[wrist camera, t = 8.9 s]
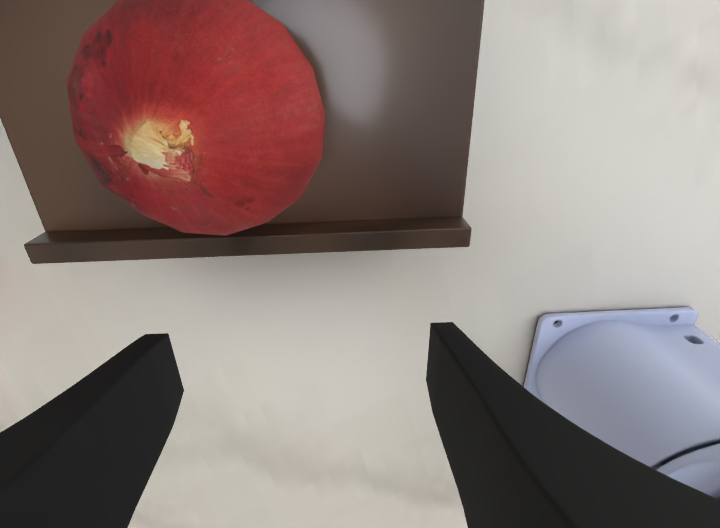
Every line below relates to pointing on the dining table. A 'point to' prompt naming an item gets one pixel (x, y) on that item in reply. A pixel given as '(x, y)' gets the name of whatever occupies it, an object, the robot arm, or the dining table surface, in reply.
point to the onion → (197, 112)
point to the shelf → (340, 145)
